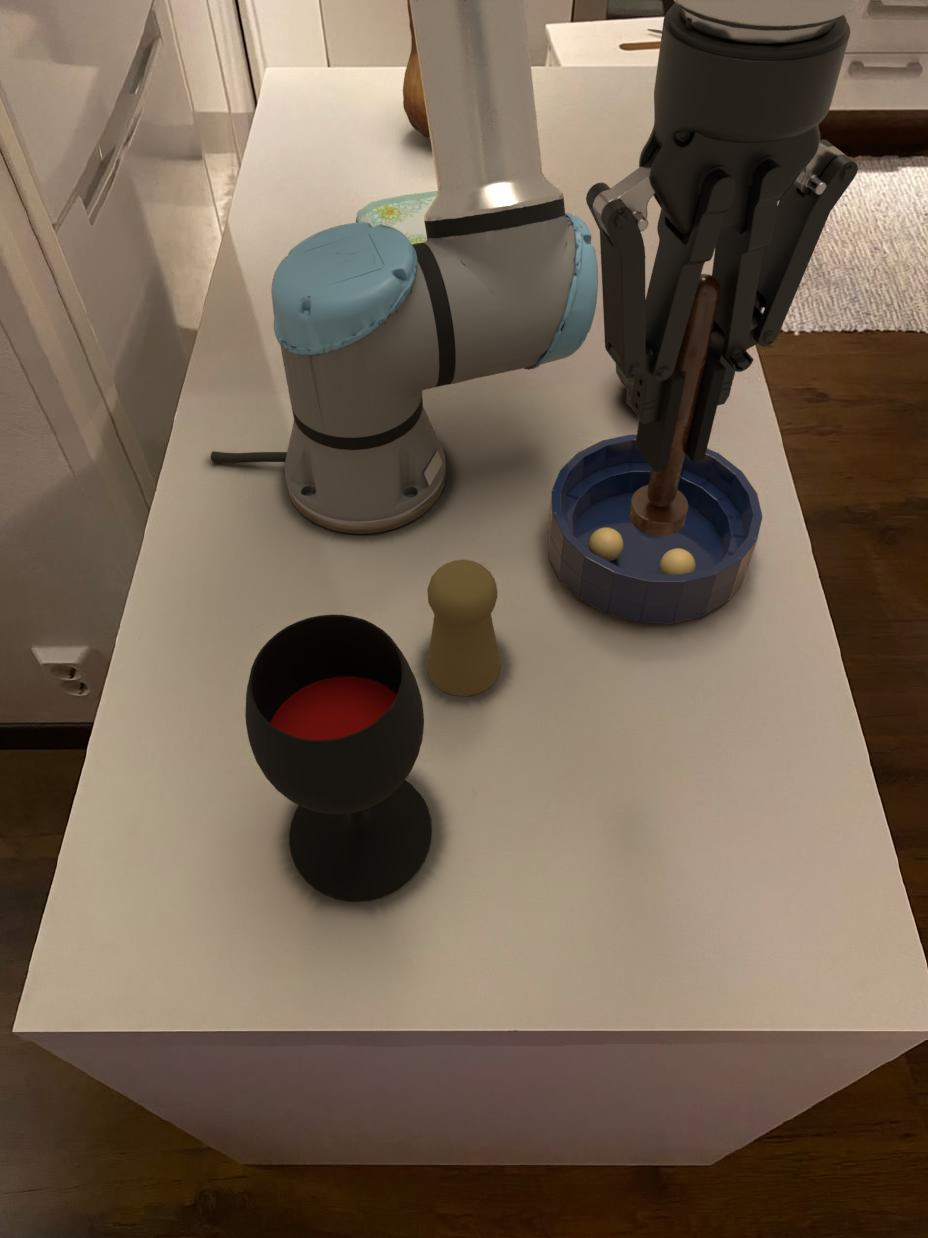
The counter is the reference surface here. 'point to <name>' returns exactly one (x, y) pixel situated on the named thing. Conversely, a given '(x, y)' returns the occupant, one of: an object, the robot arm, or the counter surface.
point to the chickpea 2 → (677, 562)
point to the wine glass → (342, 752)
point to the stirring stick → (679, 422)
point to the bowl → (633, 581)
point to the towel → (400, 214)
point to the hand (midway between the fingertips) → (669, 451)
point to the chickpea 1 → (606, 543)
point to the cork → (463, 628)
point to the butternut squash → (414, 88)
